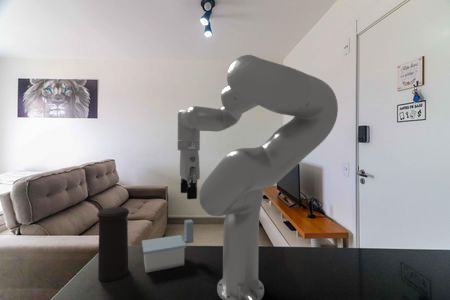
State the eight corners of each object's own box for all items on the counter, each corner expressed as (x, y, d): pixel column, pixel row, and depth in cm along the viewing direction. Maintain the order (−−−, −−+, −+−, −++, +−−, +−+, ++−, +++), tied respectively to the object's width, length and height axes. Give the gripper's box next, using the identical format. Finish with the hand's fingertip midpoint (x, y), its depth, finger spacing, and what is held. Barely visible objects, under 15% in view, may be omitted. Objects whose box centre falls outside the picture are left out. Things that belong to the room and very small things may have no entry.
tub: (184, 265, 77) (184, 247, 77) (145, 272, 72) (145, 253, 72) (179, 254, 84) (179, 238, 84) (143, 260, 80) (143, 243, 80)
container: (134, 267, 76) (134, 205, 75) (119, 283, 67) (118, 213, 66) (109, 265, 76) (108, 204, 76) (90, 281, 68) (89, 212, 67)
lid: (195, 248, 78) (195, 224, 77) (143, 257, 71) (143, 231, 71) (189, 238, 86) (189, 216, 86) (141, 245, 80) (141, 222, 80)
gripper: (207, 146, 74) (206, 200, 75) (192, 145, 90) (192, 190, 91) (183, 146, 71) (183, 202, 72) (173, 145, 87) (172, 191, 88)
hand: (188, 195), depth 81 cm, fingers open, 9 cm apart
